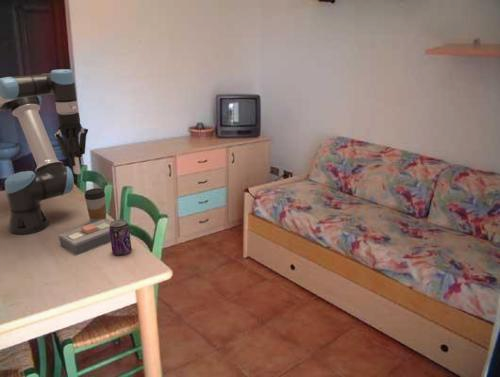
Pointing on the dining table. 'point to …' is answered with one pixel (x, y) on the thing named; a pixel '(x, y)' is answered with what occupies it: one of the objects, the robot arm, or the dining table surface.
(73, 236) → the key cream
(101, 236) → the keypad
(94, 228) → the key terracotta
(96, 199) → the coffee cup
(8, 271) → the dining table surface
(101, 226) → the key sage
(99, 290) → the dining table surface
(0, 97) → the robot arm
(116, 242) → the beverage can
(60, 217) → the dining table surface
